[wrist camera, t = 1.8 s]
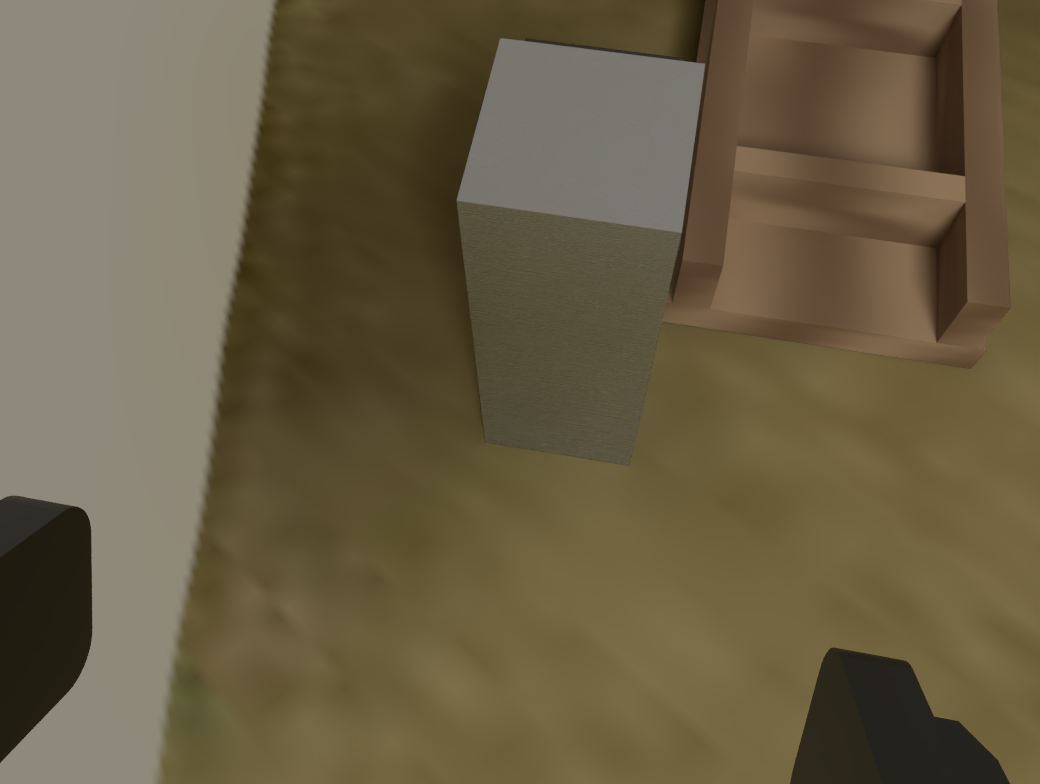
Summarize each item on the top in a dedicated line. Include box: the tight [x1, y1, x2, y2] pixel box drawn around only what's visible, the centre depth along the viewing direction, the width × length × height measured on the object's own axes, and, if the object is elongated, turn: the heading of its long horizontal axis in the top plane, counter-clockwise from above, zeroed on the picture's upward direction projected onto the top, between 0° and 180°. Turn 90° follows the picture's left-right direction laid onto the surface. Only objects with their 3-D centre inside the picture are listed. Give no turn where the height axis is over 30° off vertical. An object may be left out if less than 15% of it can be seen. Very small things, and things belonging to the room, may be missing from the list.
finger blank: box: [456, 38, 705, 466], centre depth 26 cm, size 4×5×12 cm
